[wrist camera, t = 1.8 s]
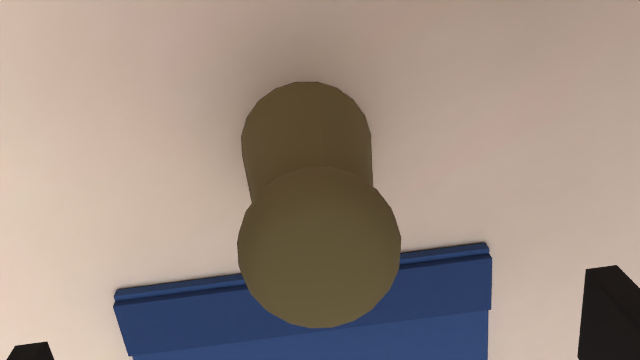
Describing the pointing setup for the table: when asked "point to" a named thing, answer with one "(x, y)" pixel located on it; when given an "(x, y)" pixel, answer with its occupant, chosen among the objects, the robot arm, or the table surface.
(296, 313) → the olive pawn figure
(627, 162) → the table surface
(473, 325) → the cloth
